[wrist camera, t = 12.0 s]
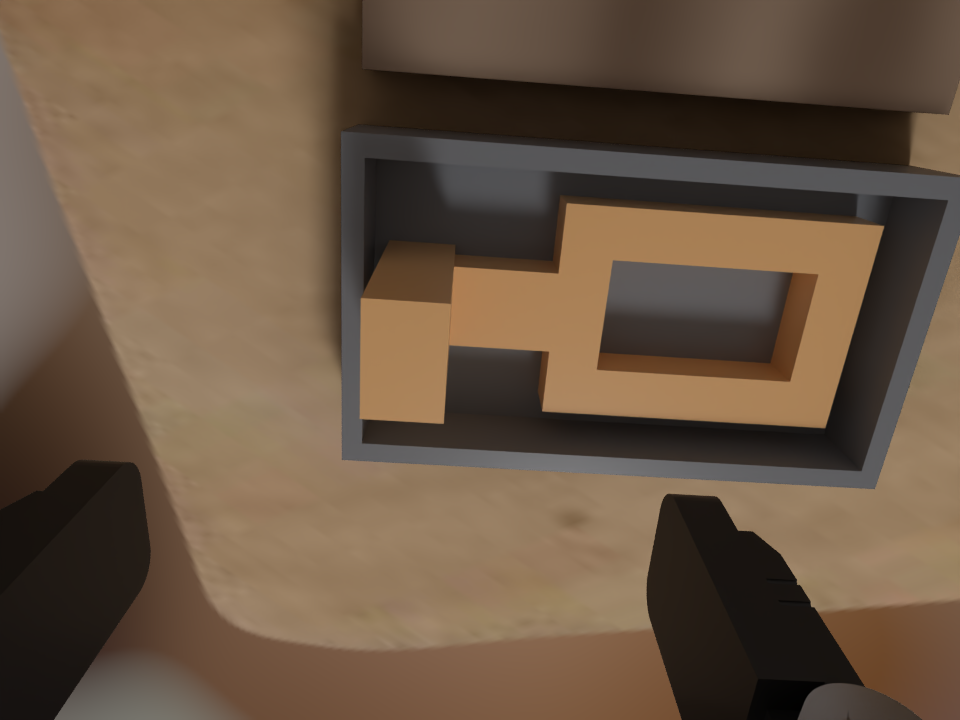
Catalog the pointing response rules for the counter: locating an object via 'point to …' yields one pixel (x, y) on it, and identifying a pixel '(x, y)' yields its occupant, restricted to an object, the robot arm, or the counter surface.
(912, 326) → the tray
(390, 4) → the board
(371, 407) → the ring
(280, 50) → the counter surface
